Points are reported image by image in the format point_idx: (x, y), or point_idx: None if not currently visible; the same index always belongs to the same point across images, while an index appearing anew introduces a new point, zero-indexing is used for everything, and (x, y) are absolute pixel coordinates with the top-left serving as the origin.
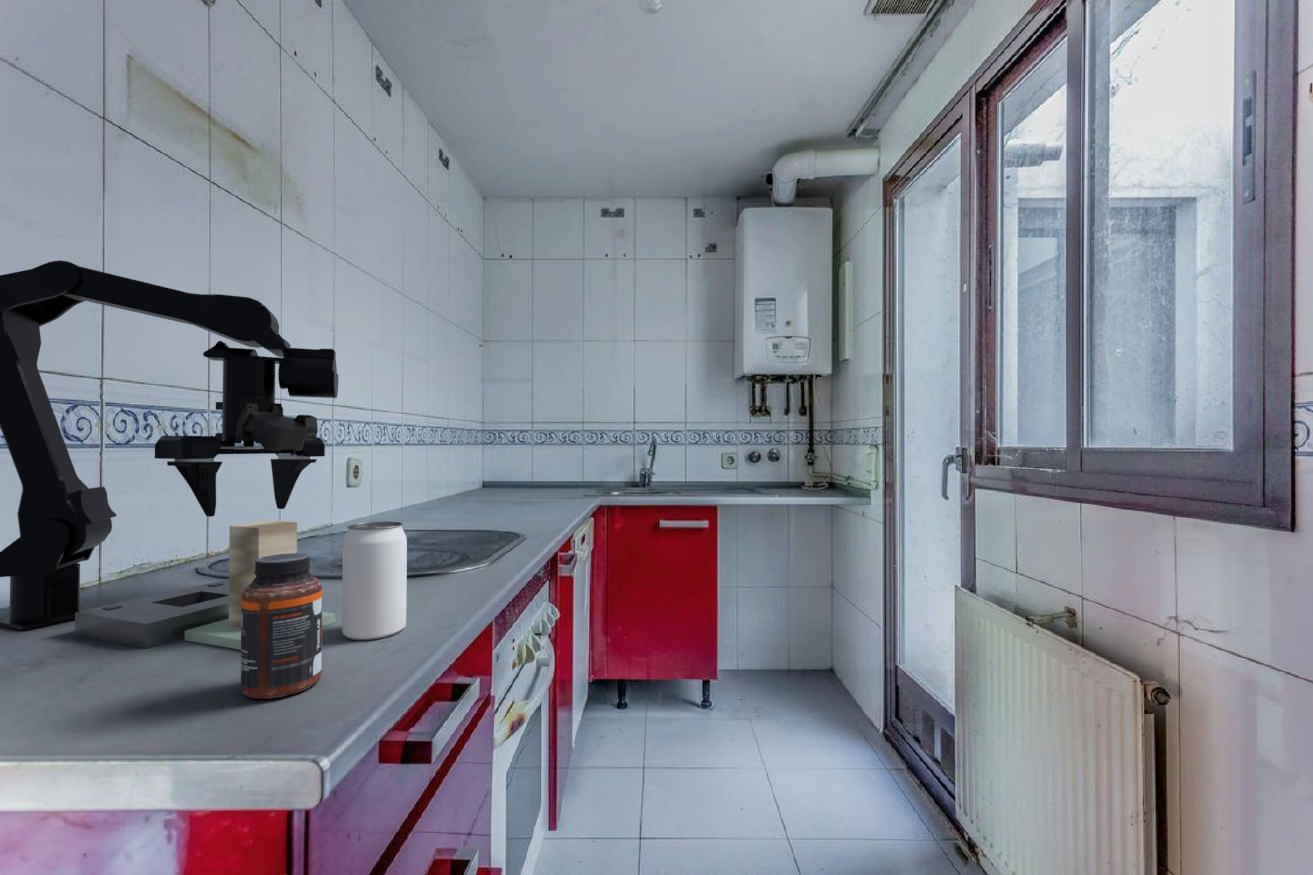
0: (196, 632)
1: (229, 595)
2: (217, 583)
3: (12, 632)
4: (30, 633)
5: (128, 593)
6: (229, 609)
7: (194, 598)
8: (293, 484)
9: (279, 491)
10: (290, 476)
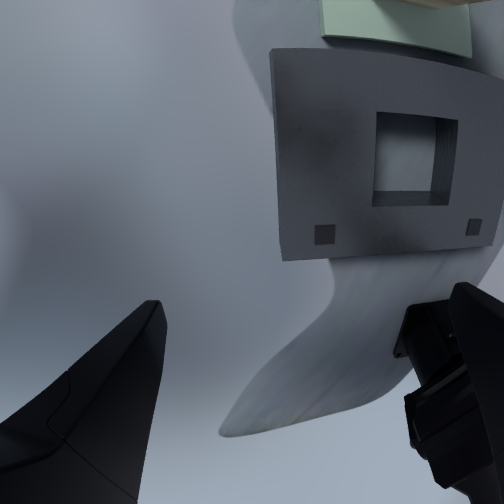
0: (470, 32)
1: (466, 3)
2: (318, 238)
3: None
4: None
5: (311, 378)
6: (451, 6)
7: (379, 201)
8: (71, 373)
9: (142, 384)
10: (72, 419)
